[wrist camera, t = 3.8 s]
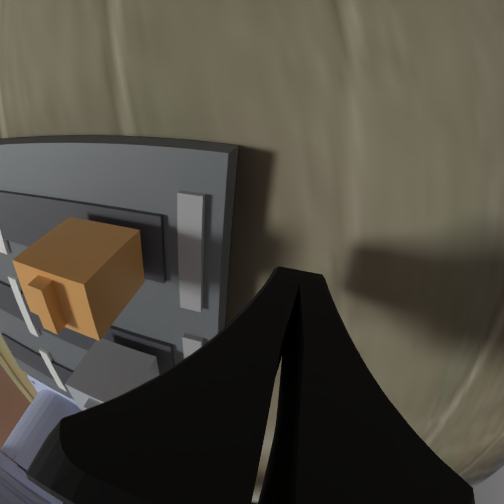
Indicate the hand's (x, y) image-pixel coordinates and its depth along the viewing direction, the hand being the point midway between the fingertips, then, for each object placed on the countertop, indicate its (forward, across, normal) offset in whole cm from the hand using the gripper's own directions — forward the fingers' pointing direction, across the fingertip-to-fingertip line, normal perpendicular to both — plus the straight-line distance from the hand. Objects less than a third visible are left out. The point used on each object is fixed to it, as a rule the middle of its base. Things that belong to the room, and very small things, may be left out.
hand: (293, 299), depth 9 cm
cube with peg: (+1, +6, +6) cm, 9 cm away
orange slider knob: (+1, +6, 0) cm, 7 cm away
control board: (+2, +12, +6) cm, 13 cm away
